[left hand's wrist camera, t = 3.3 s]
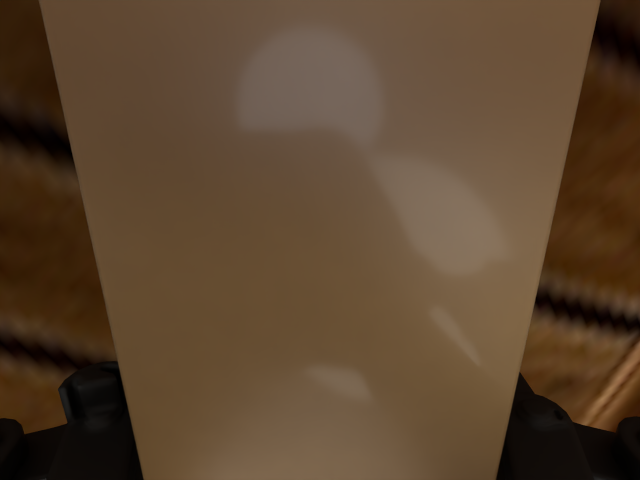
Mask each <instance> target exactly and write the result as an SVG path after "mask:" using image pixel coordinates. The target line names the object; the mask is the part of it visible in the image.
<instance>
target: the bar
mask: <svg viewBox="0 0 640 480" xmlns="http://www.w3.org/2000/svg"><path fill="white" fill-rule="evenodd" d="M39 3H40V8H41V12H42V17H43V21H44V26H45V30H46V35H47V40H48V44H49V49H50V53H51V58H52V62H53V67H54V72H55V76H56V81H57V85H58V90H59V95H60V99H61V104H62V108H63V113H64V117H65V122H66V127H67V131H68V136H69V140H70V145H71V149H72V154H73V159H74V163H75V168H76V172H77V177H78V181H79V186H80V191H81V195H82V200H83V204H84V209H85V213H86V218H87V223H88V227H89V232H90V236H91V241H92V245H93V250H94V255H95V259H96V264H97V268H98V273H99V277H100V282H101V287H102V291H103V296H104V300H105V305H106V309H107V314H108V319H109V323H110V328H111V332H112V337H113V341H114V346H115V351H116V355H117V360H118V364H119V369H120V373H121V378H122V383H123V387H124V392H125V396H126V401H127V406H128V410H129V415H130V419H131V424H132V428H133V433H134V438H135V442H136V447H137V451H138V456H139V460H140V465H141V470H142V474H143V479H144V480H496V477H497V472H498V468H499V463H500V458H501V454H502V449H503V445H504V440H505V435H506V431H507V426H508V422H509V417H510V413H511V408H512V403H513V399H514V394H515V390H516V385H517V380H518V376H519V371H520V367H521V362H522V358H523V353H524V348H525V344H526V339H527V335H528V330H529V325H530V321H531V316H532V312H533V307H534V303H535V298H536V293H537V289H538V284H539V280H540V275H541V270H542V266H543V261H544V257H545V252H546V248H547V243H548V238H549V234H550V229H551V225H552V220H553V215H554V211H555V206H556V202H557V197H558V192H559V188H560V183H561V179H562V174H563V170H564V165H565V160H566V156H567V151H568V147H569V142H570V137H571V133H572V128H573V124H574V119H575V115H576V110H577V105H578V101H579V96H580V92H581V87H582V82H583V78H584V73H585V69H586V64H587V60H588V55H589V50H590V46H591V41H592V37H593V32H594V27H595V23H596V18H597V14H598V9H599V5H600V0H39Z"/></svg>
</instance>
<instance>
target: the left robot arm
mask: <svg viewBox="0 0 640 480" xmlns="http://www.w3.org/2000/svg"><path fill="white" fill-rule="evenodd" d="M58 391H59V394H60V398H61V401H62V404H63V408H64V411H65V415H66V418H67V422H68V423H67V424H64V425H61V426H58V427H54V428H50V429H46V430H41V431H37V432H33V433H29V434H24V431H23V428H22V425H21V424H20V423H18V422H17V421H16V420H14V419H7V418H2V419H0V480H144V479H143V474H142V470H141V465H140V460H139V456H138V451H137V447H136V442H135V438H134V433H133V428H132V424H131V419H130V415H129V410H128V406H127V401H126V396H125V392H124V387H123V383H122V378H121V373H120V369H119V364H118V362H116V361H111V362H101V363H97V364H93V365H89V366H87V367H85V368H83V369H81V370H78V371H76V372H75V373H73V374H72V375H71V376H69V377H68V378H67V379H65V380H64V382H63V383H62V384H61V386H60V387H59V388H58ZM496 480H640V417H637V416H636V417H628V418H625V419H623V420H622V421H621V422H620V423H619V424H618V427H617V430H616V433H614V432H610V431H606V430H601V429H597V428H593V427H589V426H584V425H581V424H578V423H574V422H572V420H571V419H570V417H569V416H568V414H567V412H566V411H564V410H563V409H562V408H561V407H560V406H559V405H557V404H556V403H555V402H553V401H551V400H549V399H547V398H545V397H543V396H540V395H536V394H534V392H533V391H532V389H531V388H530V386H529V385H528V383H527V382H526V380H525V379H524V378H523V376H522V375H521V373H520V372H519V376H518V380H517V385H516V390H515V394H514V399H513V403H512V408H511V413H510V417H509V422H508V426H507V431H506V435H505V440H504V445H503V449H502V454H501V458H500V463H499V468H498V472H497V477H496Z"/></svg>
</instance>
